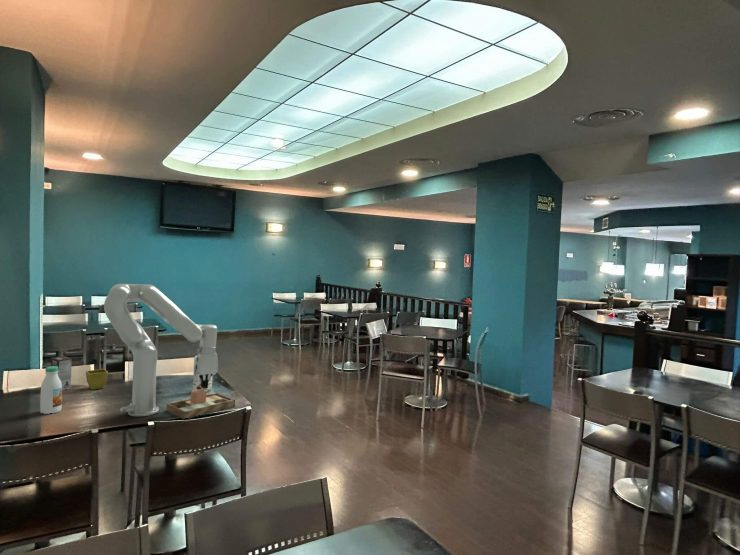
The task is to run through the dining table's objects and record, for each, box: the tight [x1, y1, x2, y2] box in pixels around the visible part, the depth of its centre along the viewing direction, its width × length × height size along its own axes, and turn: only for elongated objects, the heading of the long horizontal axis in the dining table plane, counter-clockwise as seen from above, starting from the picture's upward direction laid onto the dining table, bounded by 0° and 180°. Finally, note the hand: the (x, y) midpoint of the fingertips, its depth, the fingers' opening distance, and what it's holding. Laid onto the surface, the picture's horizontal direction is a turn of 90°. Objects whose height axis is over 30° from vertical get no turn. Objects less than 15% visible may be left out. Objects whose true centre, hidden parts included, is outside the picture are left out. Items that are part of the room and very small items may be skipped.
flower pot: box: [85, 368, 109, 390], centre depth 234 cm, size 9×9×9 cm
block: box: [190, 389, 207, 404], centre depth 212 cm, size 5×5×5 cm
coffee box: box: [50, 355, 73, 391], centre depth 231 cm, size 9×6×16 cm
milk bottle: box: [39, 365, 63, 415], centre depth 197 cm, size 8×8×20 cm
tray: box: [165, 392, 236, 420], centre depth 210 cm, size 26×16×3 cm, turn 141°
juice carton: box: [192, 355, 213, 393], centre depth 237 cm, size 8×9×19 cm
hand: (204, 387), depth 214 cm, fingers closed
